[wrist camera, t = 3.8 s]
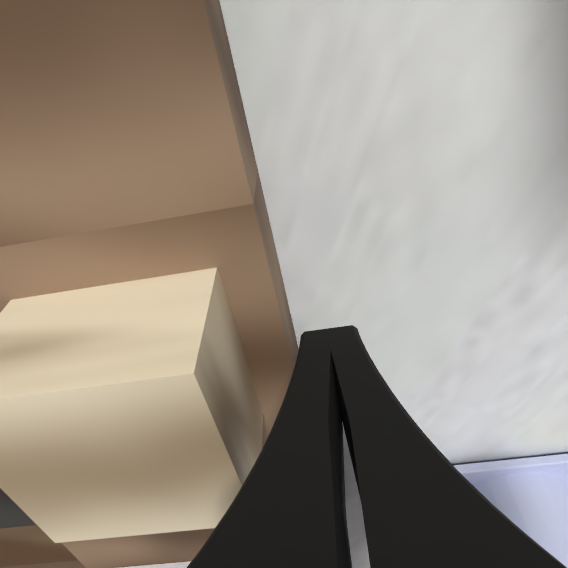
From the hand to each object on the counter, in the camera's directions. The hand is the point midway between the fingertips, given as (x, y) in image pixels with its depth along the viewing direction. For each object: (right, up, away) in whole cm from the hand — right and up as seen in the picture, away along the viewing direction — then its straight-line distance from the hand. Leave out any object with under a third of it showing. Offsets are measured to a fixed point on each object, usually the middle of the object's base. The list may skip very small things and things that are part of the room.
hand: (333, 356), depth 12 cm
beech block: (-5, 0, +1) cm, 5 cm away
